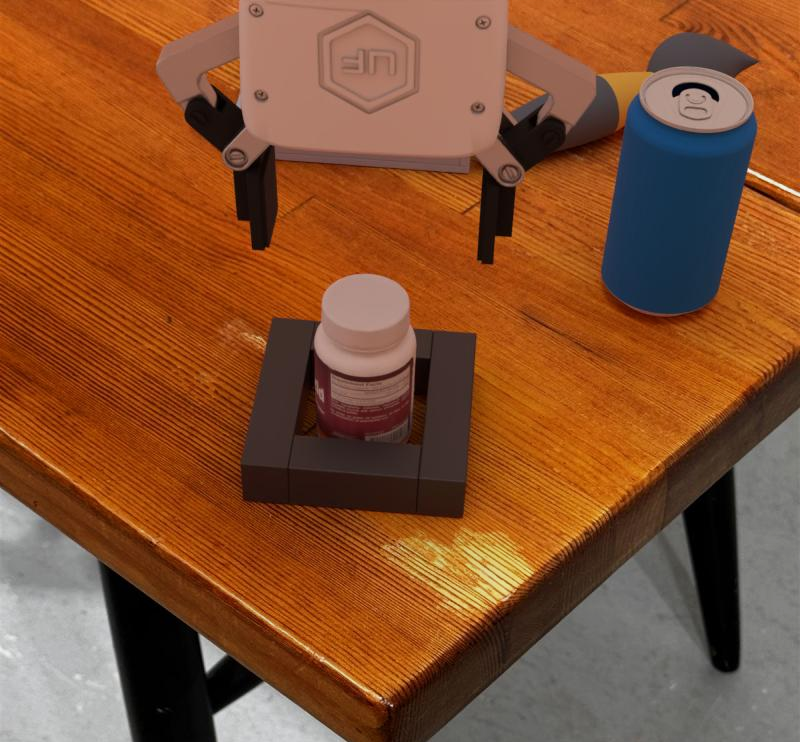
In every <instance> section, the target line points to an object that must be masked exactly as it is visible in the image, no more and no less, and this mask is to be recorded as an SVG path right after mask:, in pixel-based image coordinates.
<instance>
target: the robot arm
mask: <svg viewBox="0 0 800 742" xmlns="http://www.w3.org/2000/svg"><path fill="white" fill-rule="evenodd" d="M161 48H162V49H161V51H160V52H159V56H158V59H157V61H156V63H155V73H156V75H157V76H158V78H159V79H160V81H161V82H162V84H163V85H164V87H165V88H166V90H167V91H168V93H169V94H170V95H171V97H172V99H173V100H174V101H175V103H176V105H179V106H180V108H181V109H182V111H183V112H184V114H183V115H184V120H185V123H186V124H188V125H189V127H191V129H193V130H194V131H195V132H196V133H198V134H199V135H200V136H201V137H202V138H203V139H205V140H206V141H207V142H208V143H210V145H212V146H213V147H214V148H215V149H217V150H218V151H219V152H220V153H221V161H222V162H223V165H224V166H225V167H226V168H228V169H229V170H231V171H232V175H233V176H232V177H233V187H234V198H235V199H234V200H235V201H234V202H235V211H236V220H237V221H240V222H249V231H250V243H251V245H250V246H251V250H252V251H261V252H262V251H265V250H266V248H270V247H271V242H272V238H273V234H274V231H275V225H276V221H277V217H278V211H279V198H278V179H277V165H276V164H277V163H276V161H277V160H275V146H277V147H282V148H289V149H299V150H311V151H326V152H341V153H358V154H375V155H392V156H411V157H433V158H461V157H469V156H471V157H473V156H474V157H475V158H476V159H477V160H478V161H479V163H480V164H481V165H482V176H481V189H480V204H479V205H480V206H479V221H478V234H477V235H478V236H477V237H478V238H477V250H476V251H477V252H476V261H477V262H481V263H480V265H488V266H489V265H491V266H493V265H494V259H495V245H496V237H501V238H512V237H513V228H514V227H513V226H514V214H515V204H516V203H515V202H516V190H517V186H519V185H520V184H522V182H523V181H524V179H525V176H526V172H528V171H529V170H531V169H532V168H534V167H535V166H537V164H539V163H540V162H542V161H543V160H544V159H546V158H547V157H549V156H550V155H551V154H553V153H555V152H554V151H555V150H557V149H558V148H559V147H561V146H562V145H563V144H564V142H565V138H566V135H567V133H568V132H569V131H570V129H571V128H572V127H574V126H575V125H576V123H577V122H578V120H579V119H580V118H581V116H582V115H583V114H584V112H585V111H586V110H587V108H588V107H589V106H590V104H591V103H592V102H593V100H594V99H595V96H596V75H597V74H596V71H595V70H594V69H593V68H592V67H591V66H589V65H587V64H585V63H583V62H581V61H580V60H578V59H577V58H574V57H572V56H571V55H568V54H567V53H565V52H563V51H562V50H559V49H558V48H557V47H554V46H553V45H551V44H549V43H547V42H545V41H543V40H541V39H540V38H538V37H536V36H534V35H532V34H530V33H529V32H526V31H524V30H523V29H521V28H519V27H517V26H516V25H514V24H512V23H510V22H509V0H238V12H236V13H234V14H231V15H229V16H227V17H225V18H223V19H220V20H218V21H216V22H213V23H211V24H209V25H206V26H204V27H202V28H200V29H197V30H195V31H192V32H190V33H188V34H186V35H184V36H182V37H180V38H177V39H175V40H173V41H170V42H168V43H166V44H165V45H163V46H162V47H161ZM238 59H239V88H240V89H239V94H240V93H241V107H240V108H239V107H238V106H237V105H236V104H237V103H235V102H234V101H232V100H231V99H230V98H229V97H228V96H227V95H226V94H224V93H223V92H222V91H221V90H220V89H219V88H218V87H216V86H215V85H214V84H212V83H210V82H209V80H208V76H207V74H206V73H208V72H210V71H212V70H215V69H217V68H220V67H223V66H224V65H226V64H229V63H231V62H234V61H236V60H238ZM507 72H508V73H509V74H512V75H513V76H515V77H517V78H519V79H521V80H523V81H524V82H527V83H528V84H530V85H532V86H533V87H536V88H538V89H540V90H541V91H543V92H545V93H548V94H549V97H548V100H547V101H546V103H544V104H543V105H541V106H540V107H538V108H537V109H536V110H534V111H533V112H532V113H530V114H529V115H528V116H526V117H525V118H524V119H522V120H521V121H520V122H517V121H516V120H515V119H514V118H513V117H512V115H511V114H510V112H509V110H508V109H507V108H506V107H505V105H504V103H505V94H506V83H507Z"/></svg>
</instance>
